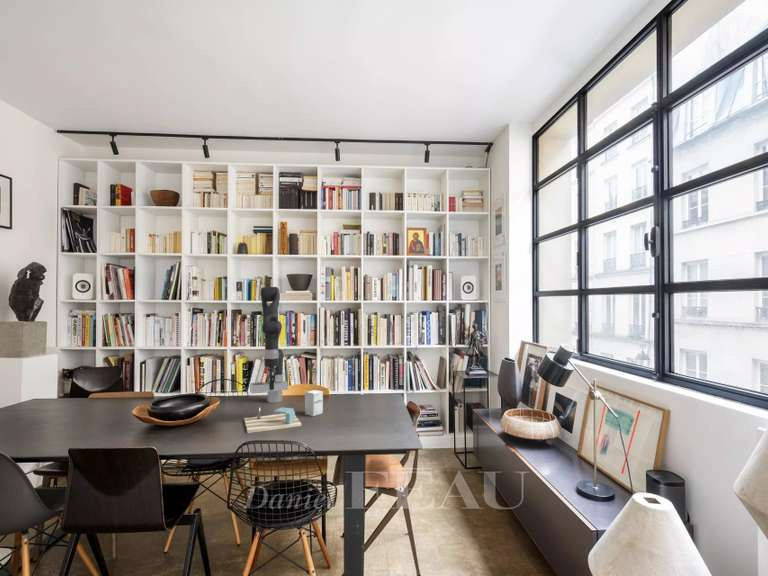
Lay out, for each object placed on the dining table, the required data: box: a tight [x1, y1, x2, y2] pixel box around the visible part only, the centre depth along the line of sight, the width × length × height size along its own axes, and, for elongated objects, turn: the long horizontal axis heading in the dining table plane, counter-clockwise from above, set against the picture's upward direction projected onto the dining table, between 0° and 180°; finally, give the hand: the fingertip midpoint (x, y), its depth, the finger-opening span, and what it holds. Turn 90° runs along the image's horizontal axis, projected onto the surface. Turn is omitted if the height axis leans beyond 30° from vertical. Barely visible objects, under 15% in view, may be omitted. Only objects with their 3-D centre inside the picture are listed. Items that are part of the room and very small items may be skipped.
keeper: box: [273, 406, 296, 424], centre depth 197 cm, size 9×7×7 cm
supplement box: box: [304, 389, 324, 417], centre depth 216 cm, size 7×7×13 cm
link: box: [249, 380, 289, 394], centre depth 207 cm, size 19×8×4 cm, turn 114°
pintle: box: [256, 406, 262, 419], centre depth 202 cm, size 2×2×8 cm
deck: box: [243, 413, 302, 434], centre depth 199 cm, size 22×26×1 cm
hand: (271, 388), depth 208 cm, fingers closed on link, 4 cm apart
